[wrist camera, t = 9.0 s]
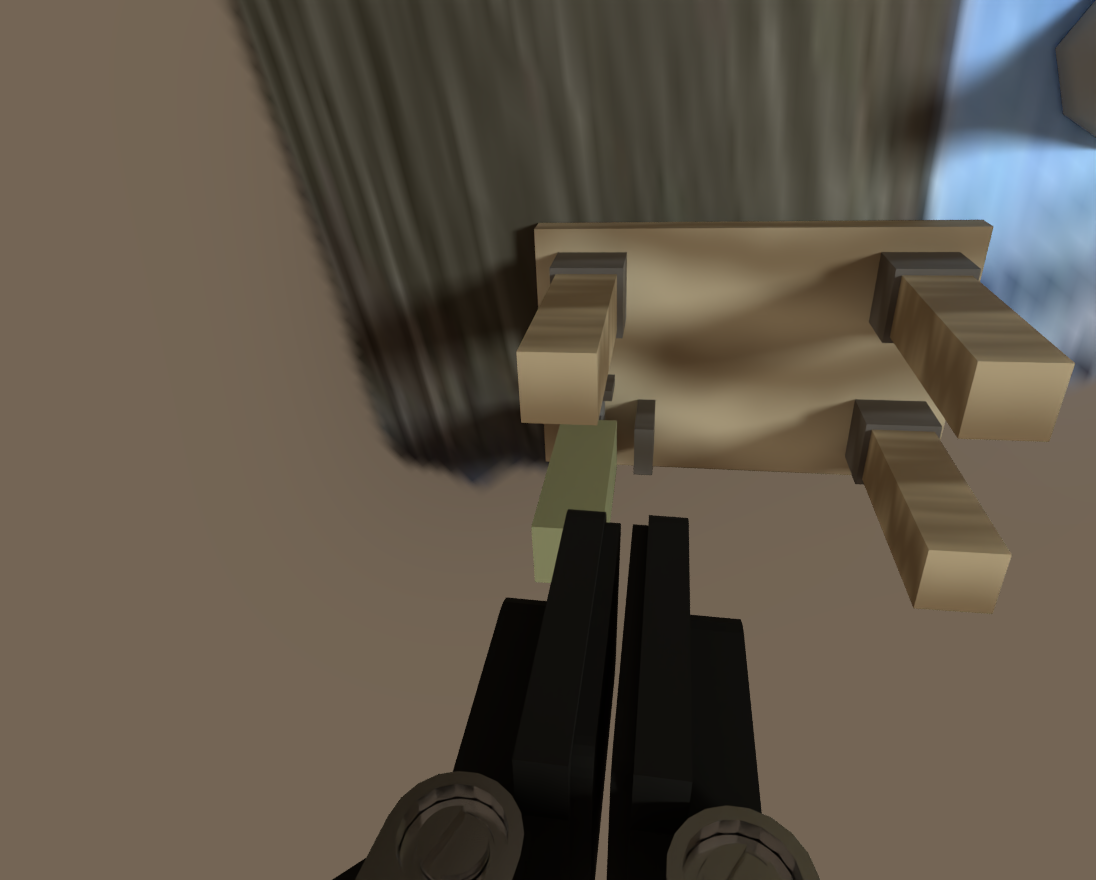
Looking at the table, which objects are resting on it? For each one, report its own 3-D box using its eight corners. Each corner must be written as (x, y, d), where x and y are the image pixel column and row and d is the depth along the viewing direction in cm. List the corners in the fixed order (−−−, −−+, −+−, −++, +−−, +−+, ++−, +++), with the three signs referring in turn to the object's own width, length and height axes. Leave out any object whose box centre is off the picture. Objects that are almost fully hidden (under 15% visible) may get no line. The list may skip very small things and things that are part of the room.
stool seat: (538, 223, 39) (473, 312, 27) (983, 219, 36) (1140, 321, 24) (549, 450, 46) (501, 604, 34) (923, 465, 43) (1022, 644, 30)
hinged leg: (567, 389, 42) (530, 517, 31) (619, 390, 42) (601, 520, 31) (569, 450, 44) (535, 590, 33) (619, 451, 44) (602, 595, 33)
